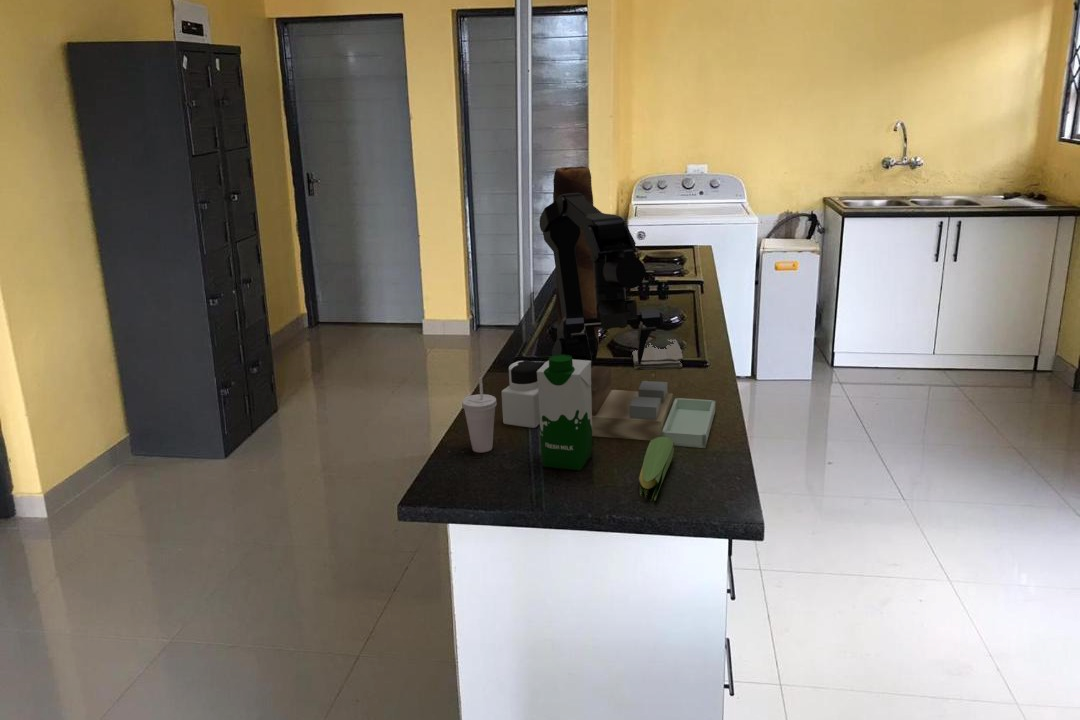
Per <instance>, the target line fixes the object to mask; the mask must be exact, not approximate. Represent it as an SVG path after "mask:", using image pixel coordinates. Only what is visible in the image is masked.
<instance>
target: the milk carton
mask: <svg viewBox="0 0 1080 720" xmlns="http://www.w3.org/2000/svg"><path fill="white" fill-rule="evenodd" d="M537 380H538V394H539V416H540V424H539V430H540V432H539V434H540V435H539V436H540V437H539V438H540V446H541V447H540V448H541V458H542V459H541V461H542V467H543V468H544V467H547V468H555V469H563V470H564V469H565V470H573V471H582V469H583V467H584V466H585V465H586V464H587V462H588V460H589V459H590V457H591V456H592V450H593V449H592V447H593V446H592V445H593V436H592V396H591V361H589V360H574V359H572V357H571V356H569V355H563V354H560V355H553V356H552V355H551V356H549V357H548V360H547V361H545V362H544V363H543V365H542V366H540V367H539V370H538V371H537Z"/></svg>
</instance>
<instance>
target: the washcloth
mask: <svg viewBox="0 0 1080 720" xmlns="http://www.w3.org/2000/svg"><path fill="white" fill-rule="evenodd" d="M669 339H670V338H669ZM669 339H667V340H668V341H670V342H672V341H673V343H674V344H670V345H671V346H670V345H667V346H666V348H667V349H665V348H664V349H660V348H659V349H658V348H657V347H656V346H655V347H656V348H654V347H652V346H653V345H651V343H649V344H650V345H649V347H648V345H647V348H645V349H644V352H643V356H642V360H641V364H638V356H637V353H638V350H637V351H636V350H635V351H633V352H632V355H633V359H632V362H633V369H634V370H673V369H675V370H677V369H681V368H683V363H681V362H682V360H684V357H683V351H682V349H681V347H680V344H679V343H678V341H677V339H676V338H675V339H673V338H672V339H673V340H672V339H670V340H669ZM674 341H675V342H674ZM632 355H631V356H632ZM680 361H681V362H680Z"/></svg>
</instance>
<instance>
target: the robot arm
mask: <svg viewBox="0 0 1080 720" xmlns="http://www.w3.org/2000/svg"><path fill="white" fill-rule="evenodd" d="M539 228H540V231H541V233H542V235H543V240H544V242H545V243H546V244H547V246H548V247H549V248H550V249H551V251H552V252H553V253H552V254H553V257H554V266H555V268H556V269H555V276H556V275H557V282H558V289H559V297H560V304H561V312H562V321H561V323H560V325H559V327H558V326H557V330H556V341H555V343H554V344H553V347H552V349H551V356H553V355H560V354H563V355H569V356H571V357H572V359H574V360H589V361H591V368H593V362H596V361H597V356H598V350H599V347H598V340H597V337H596V335H595V330H594V327H599V328H601V329H602V330H610V329H614V328H615V329H617V328H620V329H625V328H627V327H628V325H638V330H637V331H638V333H637V341H638V353H637V356H638V364H641V360H642V356H643V352H644V349H645V345H646V342H647V341H649V337H650V336H651V334H652V333H653V332H657V328H659V327H663V326H664V317H663V315H664V314H663V313H662V312H661V311H660V310H659V309H658V308H644V309H639V312H638V307H637V299H630V300H628V299H627V294H626V293H627V292H626V289H634V288H637V287H639V286H640V285H641V284H642V283H643V281H644V280H645V277H646V267H645V266H644V263H643V261H642V260H641V259H640V258H638V257H636V256H635V253H637V248H636V245H637V244H636V241H635V239H634V237H633V235H632V233H631V232H630V229H629V226H628V224H627V223H626V221H625V220H624V218H623V217H621V216H619V215H617V214H614V213H613V214H612V213H604V212H602V211H601V210H600V209H598V208H597V207H596V206H595V205H594V204H593V205H592V204H591V203H589V202H588V201H587V200H586V199H585V197H584V195H583V194H580V193H570V194H562V195H561V196H558V198H557V200H556V201H555V202H553V201H552V203H550V204H549V205H547V206H546V207H544V209H543V211H542V212H541V215H540V216H539ZM580 228H581V229H582V230H583V231H584V240H585V242H586V244H587V245H588V247H589V249H590V250H591V252H592V255H591V260H593V269H594V283H595V297H596V310H597V318H586V317H585V316H584V311H583V304H582V296H581V289H580V281H579V274H578V267H577V259H576V252H575V247H576V244H577V242H578V240H579V237H580V235H581V231H580ZM638 313H639V314H638Z"/></svg>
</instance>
